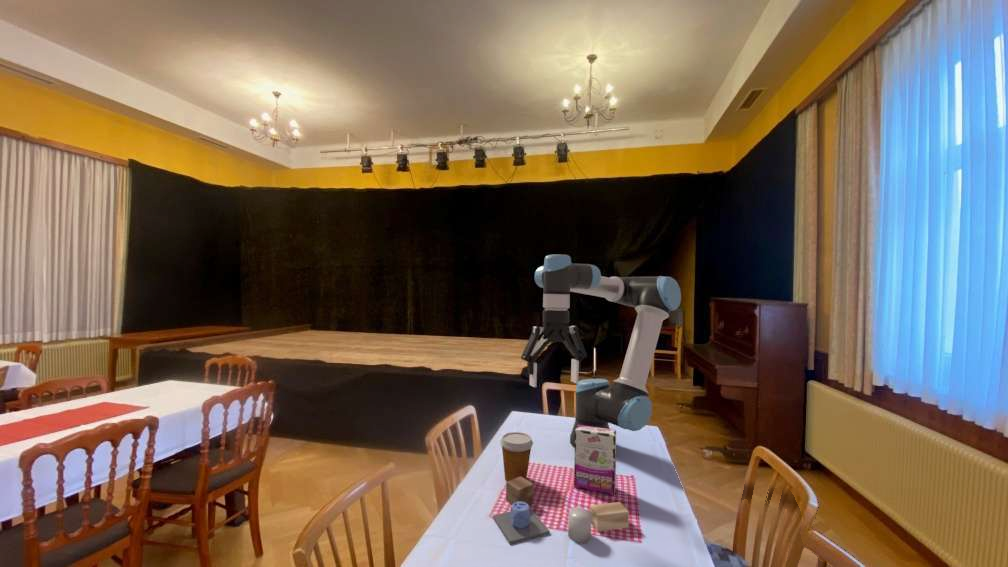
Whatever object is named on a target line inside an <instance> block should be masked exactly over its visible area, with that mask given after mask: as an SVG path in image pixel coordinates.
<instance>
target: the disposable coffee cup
mask: <svg viewBox="0 0 1008 567" xmlns="http://www.w3.org/2000/svg"><path fill="white" fill-rule="evenodd" d="M499 441H500V445H501V450H502V460H503V463H502V464H503V470H504V471H503V472H504V480H505V482H507V481H510V480H512V479H515V478H518V477H520V476H521V477H523V478H524V479H526V480H528V479H527V477H528V471H529V464H530V457H531V451H532V450H531V449H532V447H533V444H534V442H533V439H532V437H531V436H530V435H529V434H528V433H525V432H519V431H511V432H510V431H509V432H507V433H504V434H503V435H502V437H501V440H499Z"/></svg>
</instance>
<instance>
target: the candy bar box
mask: <svg viewBox="0 0 1008 567" xmlns="http://www.w3.org/2000/svg"><path fill="white" fill-rule="evenodd" d="M573 462H574V464H573V465H574V467H573V468H574V470H573V472H574V473H573V474H574V475H573V487H574V488H575V489H581V490H585V491H589V492H595V493H600V494H603V495H604V494H606V495H610V496H615V492H616V483H617V482H616V481H617V479H616V478H617V474H616V473H617V470H616V468H617V429H612V428H610V429H606V428H599V427H591V426H584V425H577V428H576V429H575V447H574V461H573Z"/></svg>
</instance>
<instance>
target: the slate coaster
mask: <svg viewBox="0 0 1008 567" xmlns="http://www.w3.org/2000/svg"><path fill="white" fill-rule="evenodd" d="M529 508H530V524H529V525H528V526H527V527H525V528H516V527H514V526H513V525H512V522H511V510H510V511H505V512H503V513H499V514H493V515H492V519H493V521H494V522H495V524H496V526H497V527H498V528H499V530H500V532H501V533H502V534H503V536H504V538H505V539H506V541H507V543H508V544H509V545H513V544H516V543H520V542H523V541H528V540H531V539H535V538H539V537H542V536H546V535H550V533H551V531H550V530H549V528H548V527H547V526H546V525H545V523H544V522H543V521H542V520H541V518H540V517H539V516H538V515H537V514H536V512H535V511H534V510H533V509H532V507H531V506H529Z"/></svg>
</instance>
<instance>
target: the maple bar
mask: <svg viewBox="0 0 1008 567" xmlns="http://www.w3.org/2000/svg"><path fill="white" fill-rule="evenodd" d="M589 512H590V513H591V526H594V527H593V528H594V529H595V531H596V530H597V531H600V532H604V531H603V530H608V531H613V530H612V529H616V530H621V529H620V528H623V529H628V528H629V526H630V525H629V521H630V520H629V519H630V518H629V517H630V516H629V515H630V514H629V513H630V512H629V510H628V509H627V508H626V507H625V506H624V504H623V503H621V502H620V501H617V502H610V503H609V502H608V503H599V504H591V505H589ZM597 531H596V532H597Z"/></svg>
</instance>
